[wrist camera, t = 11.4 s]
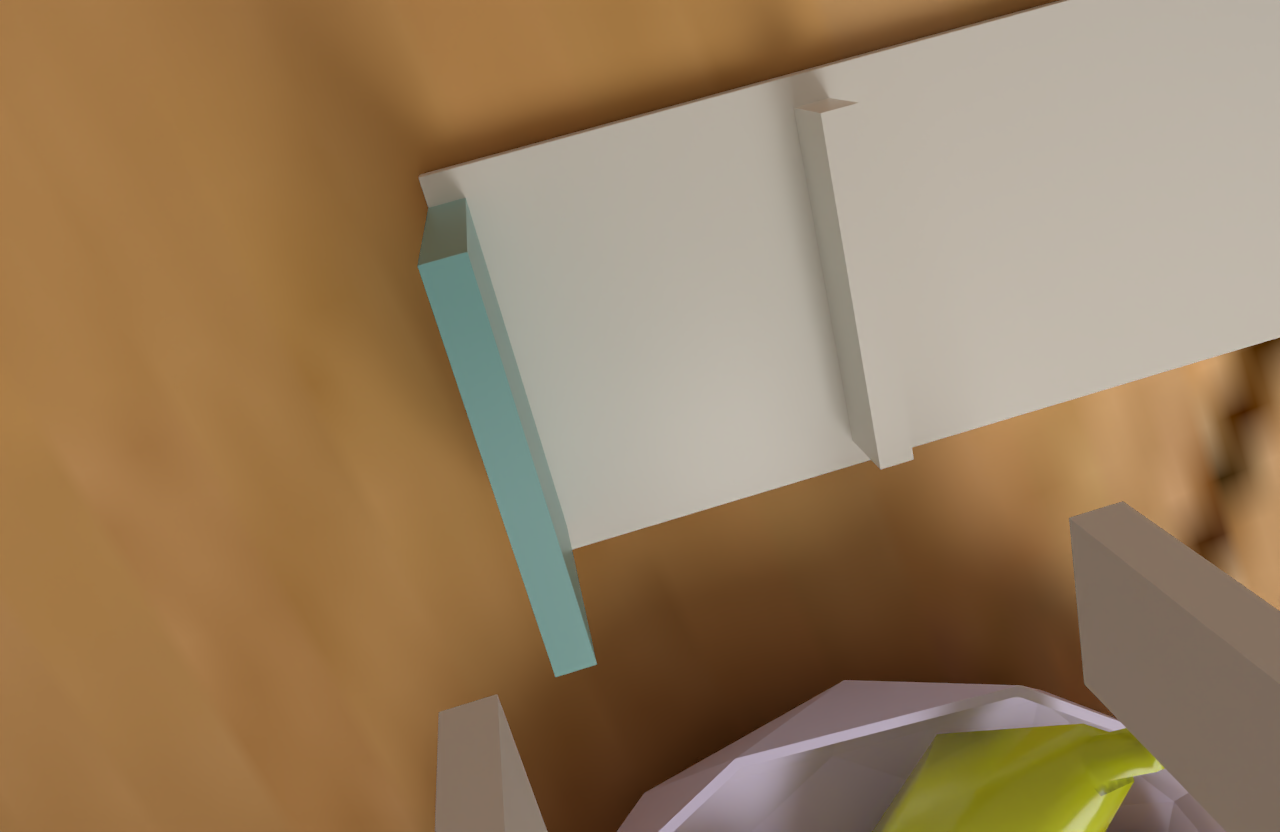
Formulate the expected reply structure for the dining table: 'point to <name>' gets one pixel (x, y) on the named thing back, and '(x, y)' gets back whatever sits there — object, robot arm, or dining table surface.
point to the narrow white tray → (852, 264)
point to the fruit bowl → (927, 769)
